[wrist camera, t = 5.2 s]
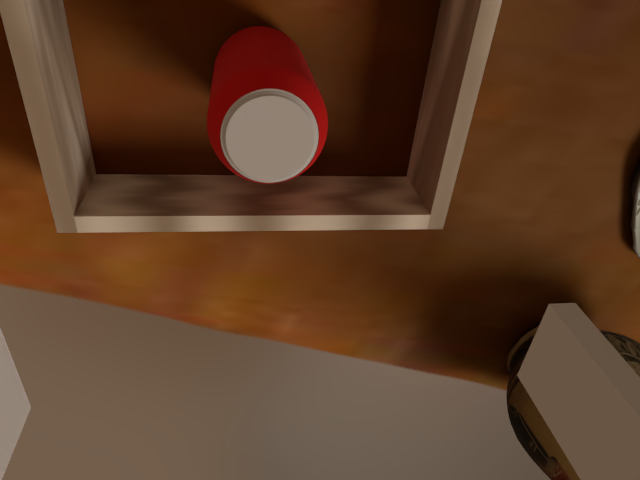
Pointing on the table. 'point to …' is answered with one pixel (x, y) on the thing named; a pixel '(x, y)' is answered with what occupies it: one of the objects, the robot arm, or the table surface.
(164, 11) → the table surface
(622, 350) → the ceramic jug
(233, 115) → the beverage can
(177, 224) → the frame
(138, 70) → the table surface
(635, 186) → the salad plate
